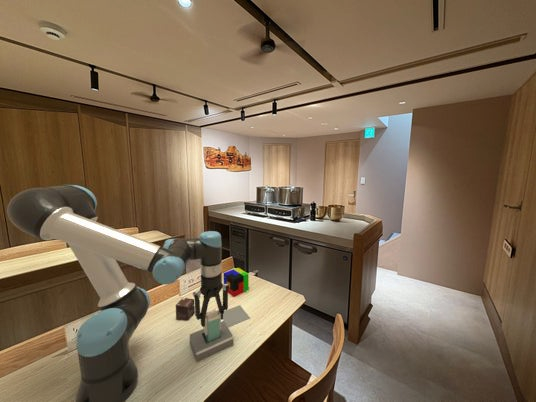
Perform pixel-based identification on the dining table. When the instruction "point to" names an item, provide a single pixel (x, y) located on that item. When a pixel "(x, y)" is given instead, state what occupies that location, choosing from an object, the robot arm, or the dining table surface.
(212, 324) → the plug
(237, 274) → the puzzle toy
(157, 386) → the dining table surface
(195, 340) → the frame
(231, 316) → the mat
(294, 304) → the dining table surface
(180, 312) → the box
